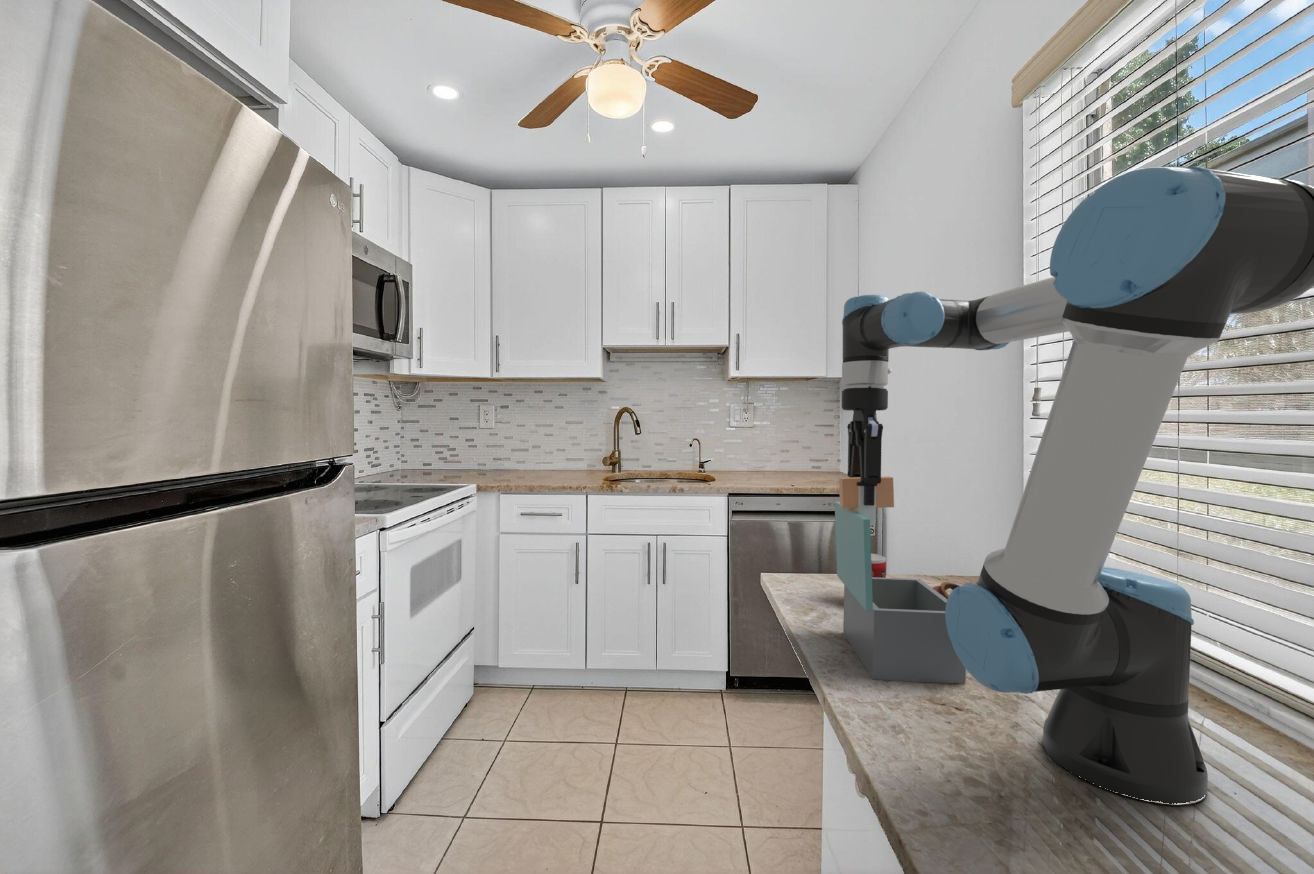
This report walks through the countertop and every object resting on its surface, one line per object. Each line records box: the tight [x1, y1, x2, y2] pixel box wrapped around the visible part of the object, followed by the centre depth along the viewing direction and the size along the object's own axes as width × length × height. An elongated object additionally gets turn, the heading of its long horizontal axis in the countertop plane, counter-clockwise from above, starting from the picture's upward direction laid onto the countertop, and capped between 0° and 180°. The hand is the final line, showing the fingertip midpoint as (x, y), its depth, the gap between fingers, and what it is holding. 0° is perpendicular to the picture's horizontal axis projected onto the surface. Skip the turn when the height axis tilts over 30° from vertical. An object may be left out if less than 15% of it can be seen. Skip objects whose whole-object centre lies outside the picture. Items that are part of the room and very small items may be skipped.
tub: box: [842, 577, 967, 685], centre depth 99 cm, size 20×14×11 cm
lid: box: [834, 475, 895, 611], centre depth 99 cm, size 21×20×8 cm
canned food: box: [871, 552, 887, 578], centre depth 127 cm, size 8×8×11 cm
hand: (862, 521), depth 99 cm, fingers open, 5 cm apart
